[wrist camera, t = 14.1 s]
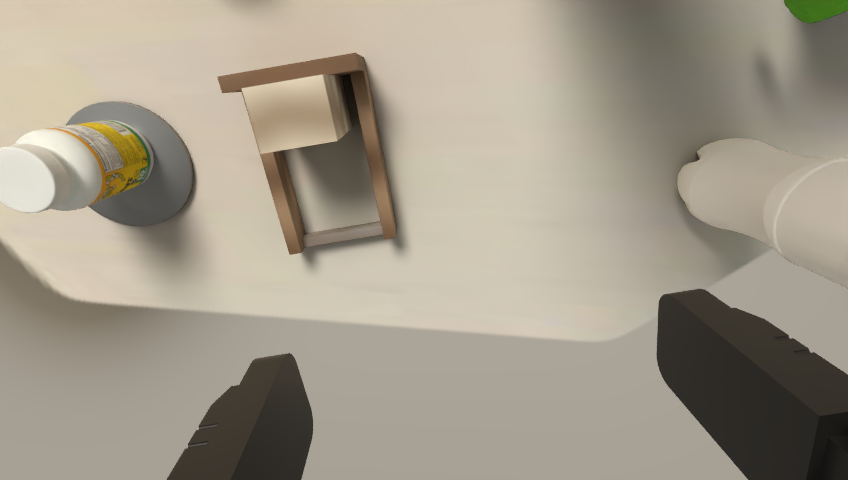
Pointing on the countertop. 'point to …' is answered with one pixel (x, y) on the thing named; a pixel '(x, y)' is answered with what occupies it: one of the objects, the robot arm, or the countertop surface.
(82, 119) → the coaster
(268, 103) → the rack
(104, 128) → the supplement bottle
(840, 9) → the snack cup
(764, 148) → the water bottle
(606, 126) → the countertop surface
